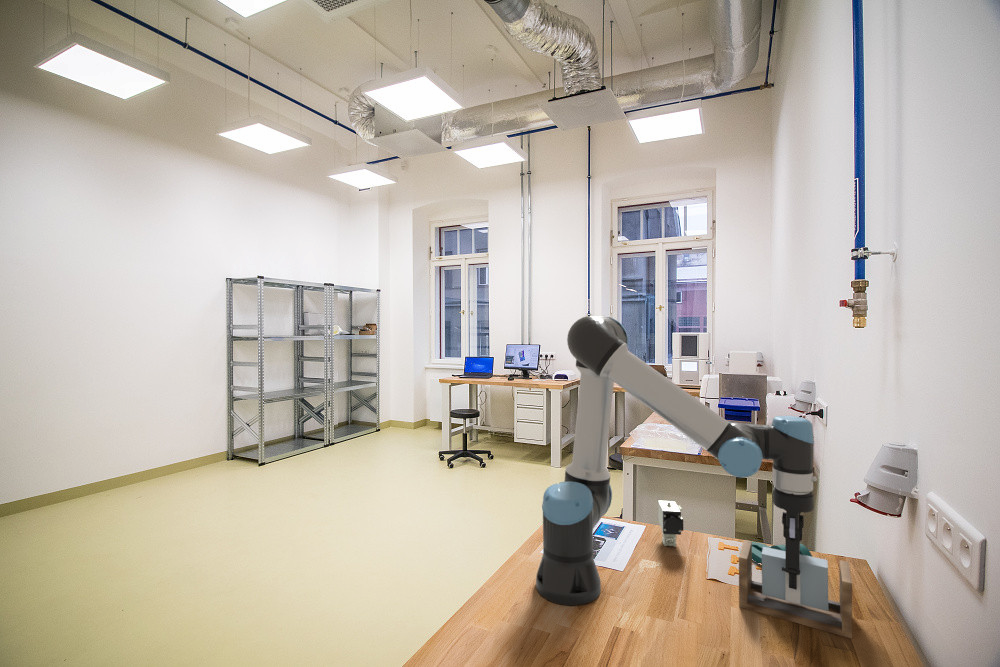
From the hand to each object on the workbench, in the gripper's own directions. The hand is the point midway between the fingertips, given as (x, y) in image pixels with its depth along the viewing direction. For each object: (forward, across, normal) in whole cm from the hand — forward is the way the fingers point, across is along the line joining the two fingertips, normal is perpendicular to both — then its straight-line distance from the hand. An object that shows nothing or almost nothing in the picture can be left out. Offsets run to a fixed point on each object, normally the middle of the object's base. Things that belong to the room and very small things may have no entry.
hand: (793, 596), depth 103 cm
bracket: (+3, +20, +5) cm, 21 cm away
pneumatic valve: (+3, +18, +30) cm, 35 cm away
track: (+3, 0, 0) cm, 3 cm away
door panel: (0, 0, 0) cm, 0 cm away
